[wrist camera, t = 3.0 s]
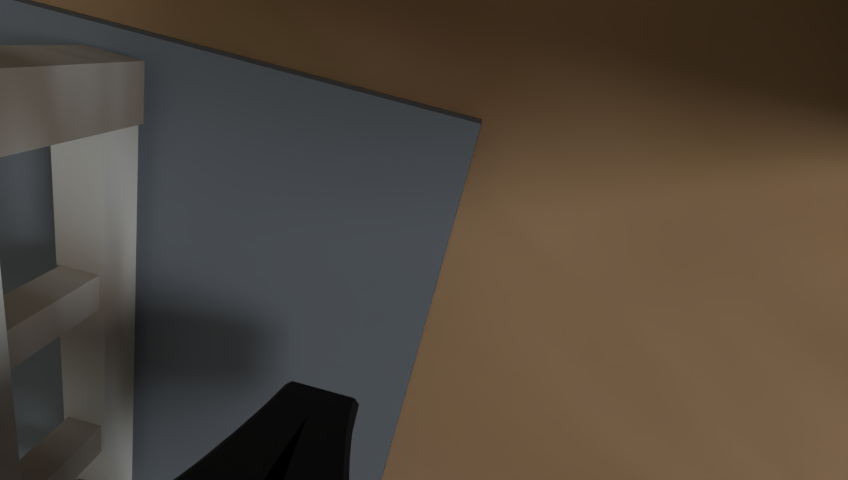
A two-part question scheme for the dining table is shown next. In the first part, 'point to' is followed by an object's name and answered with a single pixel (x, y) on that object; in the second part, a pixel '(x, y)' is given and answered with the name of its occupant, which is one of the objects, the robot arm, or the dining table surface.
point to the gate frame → (249, 242)
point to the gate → (76, 254)
